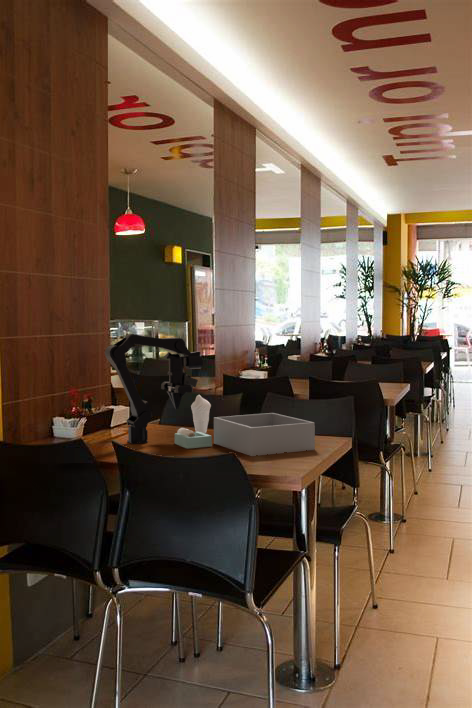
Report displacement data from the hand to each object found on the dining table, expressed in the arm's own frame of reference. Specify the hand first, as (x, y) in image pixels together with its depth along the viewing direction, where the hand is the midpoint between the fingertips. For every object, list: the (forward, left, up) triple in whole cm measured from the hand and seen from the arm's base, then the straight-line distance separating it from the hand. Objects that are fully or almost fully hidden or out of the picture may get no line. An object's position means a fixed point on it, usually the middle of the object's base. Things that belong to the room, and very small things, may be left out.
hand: (176, 408), depth 286 cm
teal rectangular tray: (0, -16, -12) cm, 20 cm away
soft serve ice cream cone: (+14, +9, -12) cm, 21 cm away
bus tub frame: (+21, -31, -12) cm, 40 cm away
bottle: (-1, -8, -9) cm, 11 cm away
